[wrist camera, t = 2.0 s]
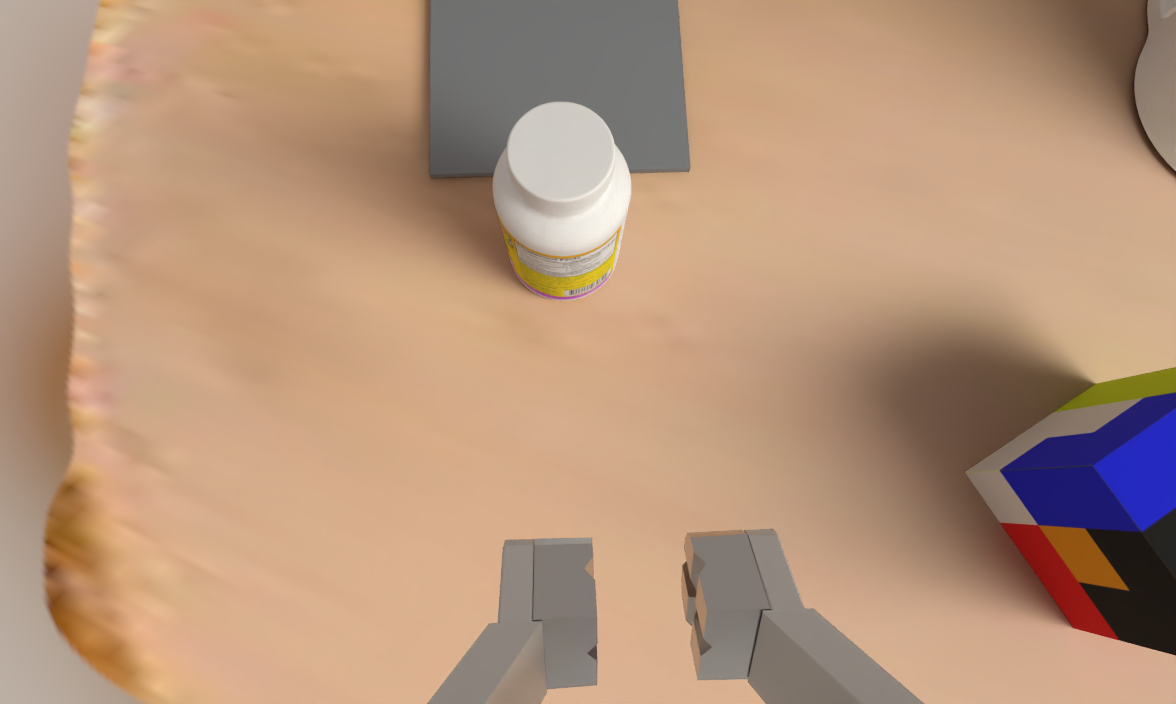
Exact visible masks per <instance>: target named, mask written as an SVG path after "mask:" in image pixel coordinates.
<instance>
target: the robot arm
mask: <svg viewBox="0 0 1176 704" xmlns="http://www.w3.org/2000/svg"><path fill="white" fill-rule="evenodd" d="M1147 16H1148V28H1149V33H1148V37H1147V40H1146V43H1145V45H1144V48H1143V50H1142V52H1141V55H1140V57H1139V60H1138V63H1137V67H1136V72H1135V82H1134V89H1135V100H1136V105H1137V109H1138V113H1139V116H1140V119H1141V122H1142V124H1143V127H1144V129H1145V131H1146V133H1147V135H1148V137H1149V139H1150V140H1151V142H1152V144H1153V145H1154V147H1155V148H1156V149H1157V151H1158V152H1159V153H1160V155H1161V156H1162V157H1163V158H1164V159H1165V161H1166V162H1167V163H1168V164H1169V165H1170V166H1171V167H1172V168H1173V169H1174V170H1175V171H1176V0H1148V5H1147ZM684 550H685V555H686V560H687V561H686V562H685V563H684V564H683V565H682V577H681V583H682V600H683V607H684V613H685V618H686V621H687V622H688V623H689V624H690V625H691V626H692V633H691V642H690V645H691V650H692V655H693V660H694V665H695V670H696V675H697V680H727V679H748V683H749V684H750V685H751V686H752V687H753V689H754V690H755V691H756V692H757V693H758V695H759V696H760V697H761V698H762V699H763V701H764V702H765V703H766V704H924V703H923V702H922V701H920V700H919V699H918V698H917V697H916V696H915V695H913V694H912V693H911V692H910V691H909V690H908V689H906V688H905V687H904V686H903V685H902V684H901V683H900V682H898V681H897V680H896V679H895V678H894V677H893V676H891V675H890V674H889V673H888V672H887V671H886V670H884V669H883V668H882V667H881V666H880V665H879V664H877V663H876V662H875V661H874V660H873V659H872V658H870V657H869V656H868V655H867V654H866V653H865V652H864V651H862V650H861V649H860V648H859V647H858V646H857V645H855V644H854V643H853V642H852V641H851V640H850V639H848V638H847V637H846V636H845V635H844V634H843V633H841V632H840V631H839V630H838V629H837V628H836V627H834V626H833V625H832V624H831V623H830V622H829V621H828V620H826V619H825V618H824V617H823V616H822V615H821V614H819V613H818V612H817V611H816V610H815V609H814V608H810V609H805V608H804V605H803V602H802V600H801V597H800V594H799V591H798V589H797V586H796V583H795V581H794V578H793V575H792V572H791V570H790V567H789V564H788V561H787V559H786V556H785V553H784V551H783V548H782V545H781V542H780V540H779V537H778V534H777V533H776V532H775V531H774V530H773V529H760V530H744V531H743V530H731V531H713V532H694V533H687V535H686V537H685V544H684ZM596 644H597V607H596V590H595V580H594V570H593V547H592V538H552V539H535V540H534V539H518V540H505V542H504V546H503V555H502V569H501V584H500V598H499V612H498V623H490V624H488V626H487V627H486V628H485V629H484V631H483V632H482V633H481V635H480V636H479V637H478V639H477V640H476V641H475V642H474V644H473V645H472V646H471V648H470V649H469V650H468V652H467V653H466V654H465V655H464V657H463V658H462V659H461V661H460V662H459V663H458V664H457V666H456V667H455V668H454V670H453V671H452V672H451V674H450V675H449V676H448V677H447V679H446V680H445V681H444V683H443V684H442V685H441V686H440V688H439V689H438V690H437V692H436V693H435V694H434V696H433V697H432V698H431V699H430V701H429V702H428V703H427V704H541V702H542V700H543V699H544V697H545V695H546V693H547V689H555V688H568V687H580V686H593V685H597V645H596Z"/></svg>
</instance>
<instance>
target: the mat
mask: <svg viewBox="0 0 1176 704" xmlns="http://www.w3.org/2000/svg"><path fill="white" fill-rule="evenodd" d="M550 102H572V103H576V104H580V105H582V106H585V107H587V108H589V109H590V110H592V111H593V112H595V113H596V114H597V115H598V116H599V117H600V118H602V119H603V121H604V122H605V123H606V125H607V126H608V128H609V129H610V131H611V134H612V136H613V139H614V143H615V145H616V146H617V147H618V149H619V150H620V152H621V153H622V155H623V157H624V159H625V161H626V163H627V166H628V169H629V173H654V172H689V170H690V157H689V144H688V130H687V117H686V104H685V91H684V78H683V64H682V51H681V38H680V25H679V12H678V0H430V177H431V178H449V177H490V176H494V172H495V168H496V165H497V163H498V160H499V158H500V156H501V154H502V153H503V151H504V150H505V148H506V147H507V141H508V138H509V135H510V132H511V130H512V128H513V127H514V125H515V124H516V122H517V121H518V120H519V119H520V118H521V117H522V116H523V115H524V114H525V113H527V112H528V111H529V110H531V109H533V108H535V107H537V106H539V105H542V104H545V103H550Z"/></svg>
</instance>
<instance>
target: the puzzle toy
mask: <svg viewBox="0 0 1176 704" xmlns="http://www.w3.org/2000/svg"><path fill="white" fill-rule="evenodd" d="M965 473H966V475H967V476H968V478H969V479H970V481H971V482H972V483H973V485H974V486H975V488H976V489H977V491H978V492H979V493H980V495H981V496H982V498H983V499H984V501H985V502H986V503H987V505H988V506H989V508H990V509H991V511H992V512H993V513H994V515H995V516H996V518H997V519H998V521H999V522H1000V523H1001V525H1002V526H1003V528H1004V529H1005V531H1006V532H1007V533H1008V535H1009V536H1010V538H1011V539H1012V541H1013V542H1014V544H1015V545H1016V546H1017V548H1018V549H1019V551H1020V552H1021V554H1022V555H1023V556H1024V558H1025V559H1026V561H1027V562H1028V564H1029V565H1030V566H1031V568H1032V569H1033V571H1034V572H1035V574H1036V575H1037V576H1038V578H1039V579H1040V581H1041V582H1042V584H1043V585H1044V586H1045V588H1046V589H1047V591H1048V592H1049V594H1050V595H1051V596H1052V598H1053V599H1054V601H1055V602H1056V604H1057V605H1058V606H1059V608H1060V609H1061V611H1062V612H1063V614H1064V615H1065V616H1066V618H1067V619H1068V621H1069V622H1070V624H1071V625H1072V626H1073V628H1075V629H1079V630H1083V631H1086V632H1090V633H1094V634H1098V635H1101V636H1105V637H1109V638H1113V639H1116V640H1120V641H1124V642H1128V643H1131V644H1135V645H1139V646H1143V647H1146V648H1150V649H1154V650H1158V651H1161V652H1165V653H1169V654H1173V655H1176V367H1175V368H1170V369H1165V370H1160V371H1155V372H1151V373H1146V374H1141V375H1136V376H1131V377H1126V378H1122V379H1117V380H1112V381H1107V382H1102V383H1097V384H1095V385H1093V386H1092V387H1090V388H1089V389H1087V390H1086V391H1084V392H1083V393H1081V394H1080V395H1078V396H1077V397H1076V398H1074V399H1073V400H1071V401H1070V402H1068V403H1067V404H1065V405H1064V406H1062V407H1061V408H1059V409H1058V410H1056V411H1055V412H1053V413H1052V414H1050V415H1049V416H1047V417H1046V418H1044V419H1043V420H1041V421H1040V422H1038V423H1037V424H1035V425H1034V426H1032V427H1031V428H1029V429H1028V430H1027V431H1025V432H1024V433H1022V434H1021V435H1019V436H1018V437H1016V438H1015V439H1013V440H1012V441H1010V442H1009V443H1007V444H1006V445H1004V446H1003V447H1001V448H1000V449H998V450H997V451H995V452H994V453H992V454H991V455H989V456H988V457H986V458H985V459H983V460H982V461H981V462H979V463H978V464H976V465H975V466H973V467H972V468H970V469H969V470H967V471H966V472H965Z"/></svg>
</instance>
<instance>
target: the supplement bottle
mask: <svg viewBox="0 0 1176 704" xmlns="http://www.w3.org/2000/svg"><path fill="white" fill-rule="evenodd" d="M493 198H494V203H495V208H496V211H497V214H498V218H499V222H500V226H501V229H502V233H503V237H504V241H505V245H506V248H507V252H508V256H509V259H510V262H511V265H512V267H513V270H514V272H515V274H516V275H517V277H518V278H519V280H520V281H521V282H522V283H523V284H524V285H525V286H526V287H527V288H528V289H529V290H531V291H532V292H534V293H536V294H537V295H539V296H541V297H544V298H547V299H552V300H557V301H570V300H577V299H580V298H583V297H586V296H588V295H590V294H592V293H594V292H595V291H596V290H598V289H599V288H600V287H602V286H603V285H604V284H605V283H606V281H607V280H608V279H609V277H610V276H611V274H612V273H613V271H614V269H615V266H616V264H617V260H618V256H619V251H620V246H621V241H622V236H623V231H624V226H625V221H626V216H627V212H628V207H629V203H630V198H631V178H630V173H629V169H628V166H627V163H626V161H625V159H624V157H623V155H622V153H621V152H620V150H619V149H618V147H617V146H616V145H615V143H614V139H613V136H612V134H611V131H610V129H609V128H608V126H607V125H606V123H605V122H604V121H603V119H602V118H600V117H599V116H598V115H597V114H596V113H595V112H593V111H592V110H590V109H589V108H587V107H585V106H582V105H580V104H576V103H572V102H550V103H545V104H542V105H539V106H537V107H535V108H533V109H531V110H529V111H528V112H527V113H525V114H524V115H523V116H522V117H521V118H520V119H519V120H518V121H517V122H516V124H515V125H514V127H513V128H512V130H511V132H510V135H509V138H508V141H507V147H506V148H505V150H504V151H503V153H502V154H501V156H500V158H499V160H498V163H497V165H496V168H495V172H494V176H493Z"/></svg>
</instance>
